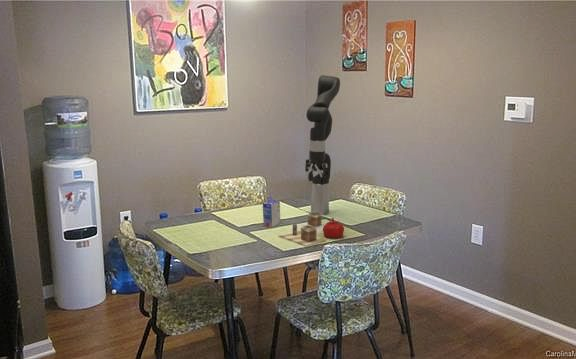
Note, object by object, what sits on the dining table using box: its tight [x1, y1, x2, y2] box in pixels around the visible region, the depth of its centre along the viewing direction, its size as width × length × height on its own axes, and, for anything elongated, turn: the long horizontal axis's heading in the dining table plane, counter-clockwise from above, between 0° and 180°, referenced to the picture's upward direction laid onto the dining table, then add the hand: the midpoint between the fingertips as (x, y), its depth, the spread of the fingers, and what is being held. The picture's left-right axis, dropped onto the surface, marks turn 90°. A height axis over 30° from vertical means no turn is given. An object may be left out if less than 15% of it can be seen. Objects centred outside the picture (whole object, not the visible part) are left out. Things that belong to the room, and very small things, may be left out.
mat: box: [297, 222, 325, 234], centre depth 268 cm, size 16×14×1 cm
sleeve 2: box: [300, 225, 318, 242], centre depth 246 cm, size 5×5×6 cm
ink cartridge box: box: [262, 196, 281, 228], centre depth 274 cm, size 10×6×14 cm, turn 155°
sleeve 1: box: [307, 211, 323, 227], centre depth 272 cm, size 5×5×6 cm
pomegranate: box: [322, 217, 345, 239], centre depth 253 cm, size 10×10×9 cm
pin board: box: [277, 223, 327, 248], centre depth 250 cm, size 20×12×6 cm, turn 40°
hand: (316, 182), depth 258 cm, fingers open, 8 cm apart
